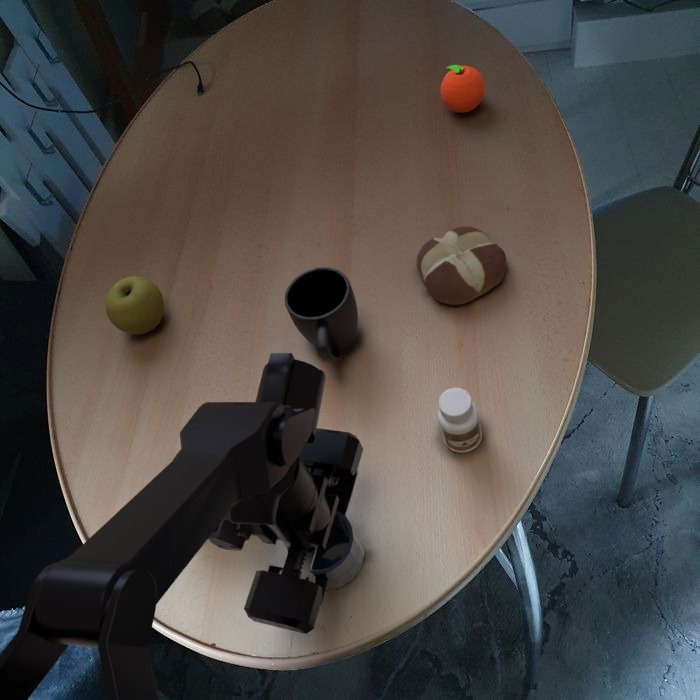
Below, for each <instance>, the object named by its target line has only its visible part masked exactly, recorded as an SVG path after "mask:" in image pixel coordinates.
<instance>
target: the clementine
mask: <svg viewBox="0 0 700 700" xmlns="http://www.w3.org/2000/svg"><path fill="white" fill-rule="evenodd" d="M447 69H449V71H448V72H447V73H446V71H447ZM444 73H445V76H444V77H443V79H442V81H441V83H440V97H441V100H442V102H443V105H444V106H445V107H446V108H448V109H449V110H451V111H452V112H453V113H461V114H464V113H468V112H471V111H473V110H474V109H476V108H477V107H478V106H479V104H480V103H481V102H482V101H483V98H484V94H485V90H486V85H485V80H484V78H483V76H482V74H481V72H479V71H478V69H476V68H474V67H472V66H468V65H459V64H451V65H448V66H446V67H445V69H444Z"/></svg>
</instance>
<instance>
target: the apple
mask: <svg viewBox="0 0 700 700" xmlns="http://www.w3.org/2000/svg"><path fill="white" fill-rule="evenodd" d="M104 306H105V313H106V316H107V318H108V320H109V321H110V323H111V324H112V325H113V326H114V327H115V328H116V329H118V330H119V331H122V332H124V333H126V334H131V335H143V334H147V333H149V332H152V331H153V330H154V329H155V328H156V327H158V326H159V324H160V322H161V321H162V318H163V316H164V311H165V302H164V297H163V294H162V292H161V290H160V288H159V287H158V285H156V284H155V282H154V281H152V280H151V279H149V278H146V277H144V276H137V275H136V276H135V275H133V276H127V277H124V278H121V279H119V280H118V281H117V282H116V283H115V284H114V285H113V286H112V287H111V288H110V289H109V291H108V292H107V295H106V298H105V305H104Z"/></svg>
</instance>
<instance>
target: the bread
mask: <svg viewBox="0 0 700 700" xmlns="http://www.w3.org/2000/svg"><path fill="white" fill-rule="evenodd" d="M506 266H507V256H506V253H505V251H504V250H503V248H501V247H500V246H499V245H498V243H494V242H493V241H492V239H491V238H490V236H489V235H487V234H486V233H485V232H484V231H482V230H480V229H478V228H476V227H472V226H459V227H454V228H452V229H450V230H447V231H446V233H444V235H443V237H442V238H439V237H433V238H430V239H429V240H428V241H426V242H425V243H424V244H423V245H422V246H421V248H420V250H419V251H418V253H417V257H416V267H417V272H418V274H419V276H420V278H421V279H422V281H423V282H424V285H425V287H426V289H427V290H428V292H429V293H430V295H431V296H432V297H433V298H434V299H435V300H437V301H438V302H441V303H442V304H443V303H444V304H446V305H454V306H455V305H463V304H467V303H469V302H471V301H473V300H474V299H476V298H478V297H480V296H482V295H484V294H486V293H487V292H489V291H490V290H492V288H494V287H496V286H497V285H498V284H501V282H502V280H503V279H504V276H505V274H506V273H505V272H506Z"/></svg>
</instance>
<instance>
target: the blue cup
mask: <svg viewBox="0 0 700 700" xmlns="http://www.w3.org/2000/svg"><path fill="white" fill-rule="evenodd" d="M289 548H290V547H288V546H286V549H287V550H286V551H287V553H288V551H289ZM306 552H307V550H306ZM305 556H307V555H306V554H305ZM364 558H365V550H364V543H363V541H362V539H361V537H360V536H359V534H358V533H357V531H356V529H355V528H354V526H353V525H352V523H351V522H350V520H349V519H348V517H347V515H344V514H343V513H341V512H340V511H338V510H337V509H336V512H335V516H334V520H333V523H332V527H331V530H330V534H329V537H328V541H327V544H326V548H325V549H321V548H317V552H316V555H315V559H314V562H313V566H312V569H311V572H312V573H313V574H314V575H319V576H324V577H328V578H329V580H328V584H327V587H326V590H332V589H338V588H342V587H344V586H345V585H346V584H349V582H351V581H353V580H354V579H355V578H356V577H357V574H358V573H359V572H360V571H361V568H362V566H363V562H364ZM303 560H305V559H303ZM302 564H304V563H303V562H302ZM301 568H303V567H301Z"/></svg>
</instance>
